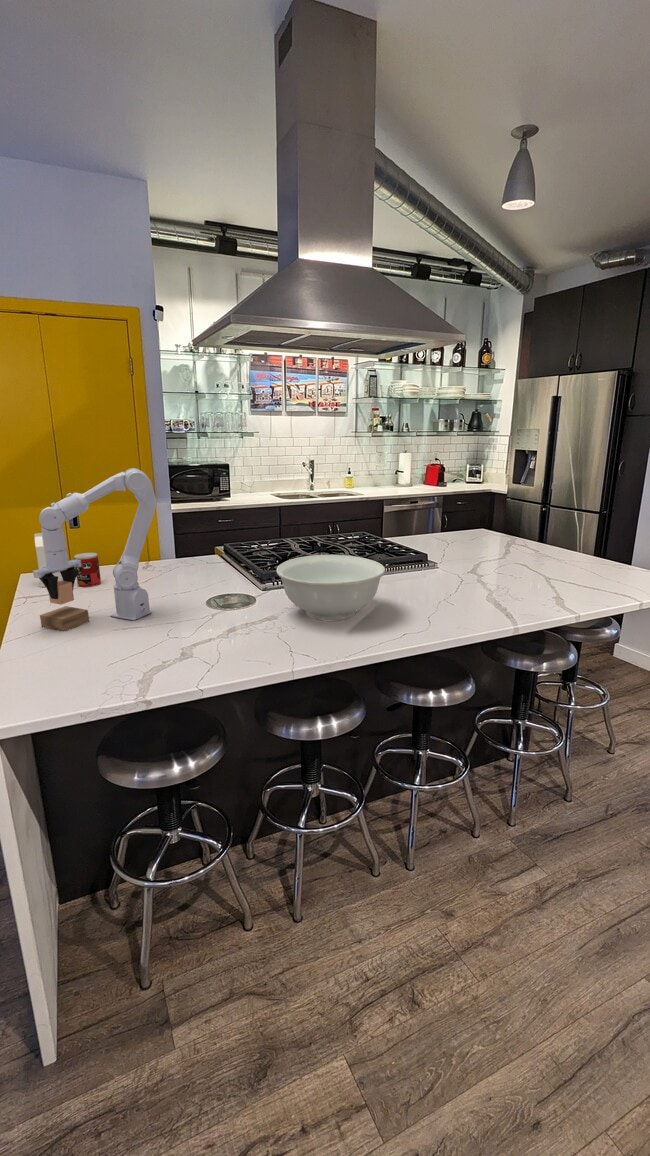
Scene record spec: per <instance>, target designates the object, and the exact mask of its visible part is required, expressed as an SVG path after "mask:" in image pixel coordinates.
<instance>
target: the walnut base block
mask: <svg viewBox="0 0 650 1156" xmlns="http://www.w3.org/2000/svg"><path fill="white" fill-rule="evenodd" d="M39 619H40V625H41V628H43V627H44V629H49V630H53V631H57V630H58V631H59V632H62V631H63V632H64V631H65V632H67V631H69V629H70V630H72V629H74V628H75V629H76V628H77V627H80V626H82V625H84V624H87V623H90V616H89V610H88V609H86V608H85V609H84V608H79V607H72V606H69V605H68V606H67V605H65V606H63V607H59V608H57V609H53V610H50V611H49V612H45V613H42V614H40V615H39ZM63 632H62V633H63Z"/></svg>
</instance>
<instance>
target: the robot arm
mask: <svg viewBox="0 0 650 1156" xmlns="http://www.w3.org/2000/svg"><path fill="white" fill-rule="evenodd" d="M126 488H127V489H128V490H129V491H130V492H131V493H133V496H134V497H135V500H136V501H137V502H138V506H137V509H136V512H135V515H134V518H133V521H132V525H131V526H130V532H129V534H128V537H127V540H126V543H125V546H124V549H123V553H122V554H121V556H120V559H119V561H117V564H116V565H114V567H113V569H112V574H113V578H114V581H115V584H114V585H113V593H114V602H115V610H116V612H113V613H111V614H110V617H112V618H113V617H114V618H118V619H124V620H128V621H136V620H138V619H141V618H143V617H145V616H148V615H149V614H152V613H153V611H152V610H150V609H151V608H150V602H149V601H150V600H149V594H148V591H147V590H146V589H144V588H142V587H141V586H140V583H139V582H138V581H139V578H138V577H139V576H138V569H139V563H140V557H141V554H142V551H143V548H144V545H145V542H146V538H147V535H148V532H149V529H150V526H151V525H152V524H151V523H152V520H153V518H154V515H155V511H156V508H157V504H158V501H157V497H156V494H155V491H154V487H153V482H152V481H151V479H150V478H149V477H148V475H147V474H146V473H145V472H144V471H143V470H140V469H138V468H135V467H134V468H133V467H131V468H128V469H126V470H125V471H121V472H118V473H116V474H114V475H113V476H110V477H108V478H107V479H105V480H103V481H102V482H100V483H98V484H96V485H95V486H93V487H92V488H90V489H88V490H87V491H85V492H84V493H79V492H73V493H71V492H69V493H66V497H65V498H63V499H61V500H59V501H57V502H54V501H53V502H52V503H50V506H47V507H45V508H43V509H41V511H40V514H39V517H38V521H39V524H40V525H41V533H43V534H42V539H43V546H44V552H45V559H46V566H44V567H42V568H40V569H39V568H38V569H35V570H32V574H33V578H36V579H38V580H39V581H40V582H41V581H42V582H43V584H44V585H45V587H44V588H46V590H47V593H48V595H49V594H50V597H51V599H58V590H57V582H58V576H54V575H53V573H57V572H60V573H61V576H62V578H63V581H68V582H72V588H73V589H74V587H75V582H76V580H77V574H78V569H75V567H80V566H81V560H77V559H76V560H74V559H72V560H69V557H68V549H67V543H66V535H65V532H64V529H63V524H64V522H69V521H70V520H72V519H74V518H76V517H78V516H79V515H81V514H83V513H85V512H86V511H88V509H89V506H90V504H91V503H93V502H94V501H97V500H99V499H101V498H103V497H105V496H107V495H108V494H111V493H112V492H116V491H117V492H126V490H127V489H126Z"/></svg>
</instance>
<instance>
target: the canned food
mask: <svg viewBox="0 0 650 1156" xmlns="http://www.w3.org/2000/svg"><path fill="white" fill-rule="evenodd" d="M73 558H74V559H73V560H76V559H77V560H81V566H80V567H75V569H78V574H77V576H76V582H77V583H76V584H77V586H78V587H81V588H91V587H96V586H98V585H100V584H101V582H102V579H101V573H100V572H101V570H100V562H99V555H98V553H96V552H84V553H77V554H74V556H73Z"/></svg>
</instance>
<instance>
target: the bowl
mask: <svg viewBox="0 0 650 1156" xmlns="http://www.w3.org/2000/svg"><path fill="white" fill-rule="evenodd" d="M385 573H386V568H385V566H384V565H383V564H381V563H380V562H378V561H375V560H372V559H371V558H370V559H369V558H364V557H359V556H354V555H343V554H316V555H308V556H307V555H306V556H305V555H304V556H300V557H299V556H298V557H295V558H291V559H288V560H286V561H284V562H282V563H280V564H279V565H277V568H276V574H277V575H278V577H279V578H281V581H282V582H281V583H282V586H283V589H284V592H285V595H286V596H287V598H288V599H289V600H290V602H291V603H292V604H293V605H295V606H296V607H298V608H300V609H302V610H304V611H305V614H306V615H307V617H309V618H311V617H312V618H311V619H314V620H317V619H319V620H318V621H323V620H339V621H343V620H342V619H344V620H348V619H350V618H352V617H354V616H355V614H356V613H357V610H360V609H362V608H364V607H366V606H367V605H369V604H370V603H371V602H372V601H373V599H374V597H375V596H376V594H377V592H378V588H379V585H380V581H381V578H382V577H383V576H384V575H385ZM347 618H348V619H347Z"/></svg>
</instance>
